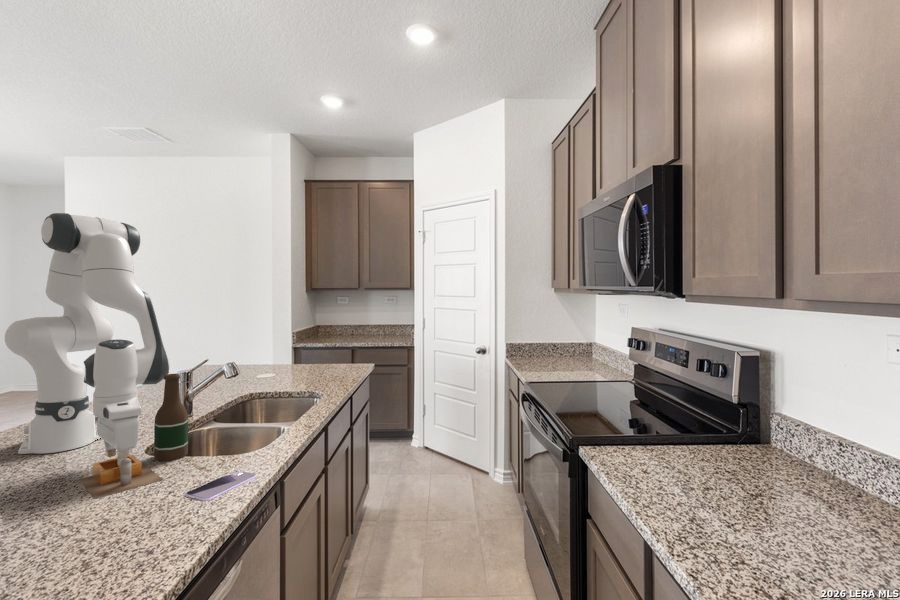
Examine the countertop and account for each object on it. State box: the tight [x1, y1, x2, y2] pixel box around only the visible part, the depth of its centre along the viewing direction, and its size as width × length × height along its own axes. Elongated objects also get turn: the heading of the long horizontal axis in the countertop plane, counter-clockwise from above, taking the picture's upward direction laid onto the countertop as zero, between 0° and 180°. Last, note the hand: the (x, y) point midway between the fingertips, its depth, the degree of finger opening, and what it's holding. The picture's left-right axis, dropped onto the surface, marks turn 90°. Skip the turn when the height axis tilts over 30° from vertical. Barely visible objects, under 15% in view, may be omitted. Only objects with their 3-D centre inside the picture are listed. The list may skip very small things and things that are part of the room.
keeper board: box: [78, 458, 164, 500], centre depth 102 cm, size 16×13×8 cm
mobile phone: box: [184, 470, 258, 502], centre depth 103 cm, size 8×1×15 cm
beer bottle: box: [153, 373, 189, 462], centre depth 117 cm, size 8×8×24 cm
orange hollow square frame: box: [92, 454, 143, 485], centre depth 105 cm, size 8×8×3 cm
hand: (116, 460), depth 107 cm, fingers open, 8 cm apart
